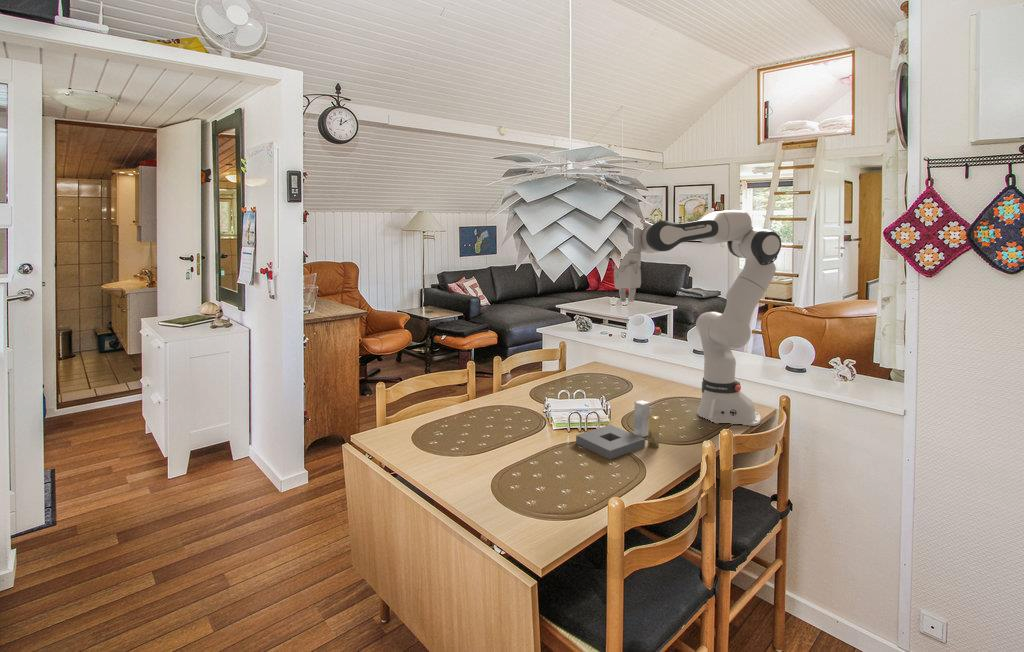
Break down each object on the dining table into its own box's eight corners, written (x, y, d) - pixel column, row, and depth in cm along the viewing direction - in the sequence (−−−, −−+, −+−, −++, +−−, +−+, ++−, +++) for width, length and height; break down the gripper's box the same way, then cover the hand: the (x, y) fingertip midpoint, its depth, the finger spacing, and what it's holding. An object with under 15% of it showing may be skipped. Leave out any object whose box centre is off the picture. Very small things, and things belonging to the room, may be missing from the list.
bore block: (576, 443, 192) (576, 435, 191) (610, 432, 201) (610, 424, 200) (609, 459, 179) (609, 450, 178) (644, 447, 188) (645, 438, 187)
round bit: (659, 445, 189) (660, 416, 187) (657, 449, 186) (658, 420, 184) (648, 443, 191) (649, 415, 189) (646, 447, 188) (647, 418, 186)
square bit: (633, 434, 199) (634, 401, 196) (640, 432, 201) (641, 399, 198) (641, 437, 196) (642, 404, 193) (648, 435, 198) (649, 402, 195)
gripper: (646, 259, 187) (645, 301, 187) (628, 264, 207) (627, 301, 208) (627, 259, 186) (626, 301, 187) (611, 263, 207) (610, 301, 207)
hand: (626, 301), depth 198 cm, fingers open, 8 cm apart
